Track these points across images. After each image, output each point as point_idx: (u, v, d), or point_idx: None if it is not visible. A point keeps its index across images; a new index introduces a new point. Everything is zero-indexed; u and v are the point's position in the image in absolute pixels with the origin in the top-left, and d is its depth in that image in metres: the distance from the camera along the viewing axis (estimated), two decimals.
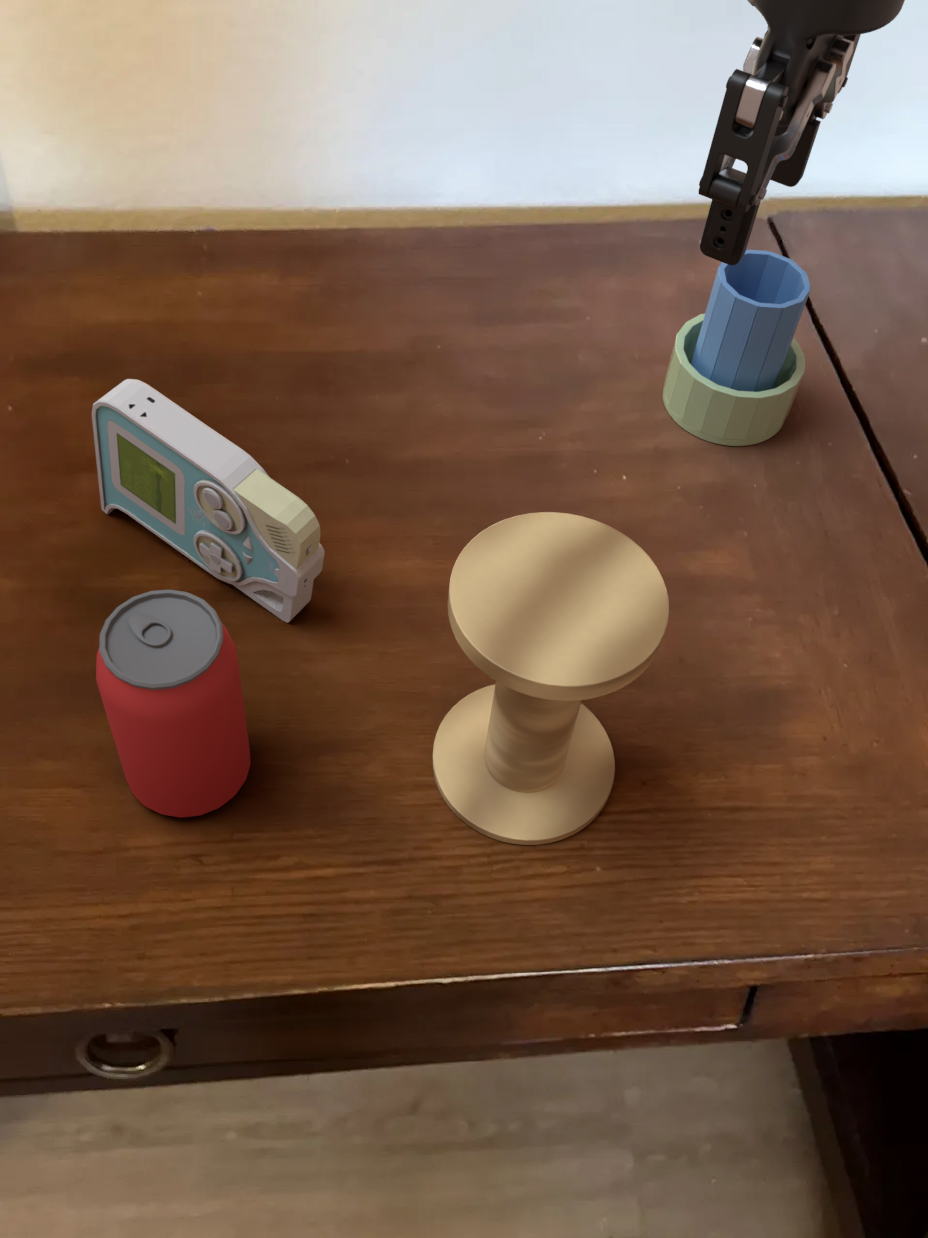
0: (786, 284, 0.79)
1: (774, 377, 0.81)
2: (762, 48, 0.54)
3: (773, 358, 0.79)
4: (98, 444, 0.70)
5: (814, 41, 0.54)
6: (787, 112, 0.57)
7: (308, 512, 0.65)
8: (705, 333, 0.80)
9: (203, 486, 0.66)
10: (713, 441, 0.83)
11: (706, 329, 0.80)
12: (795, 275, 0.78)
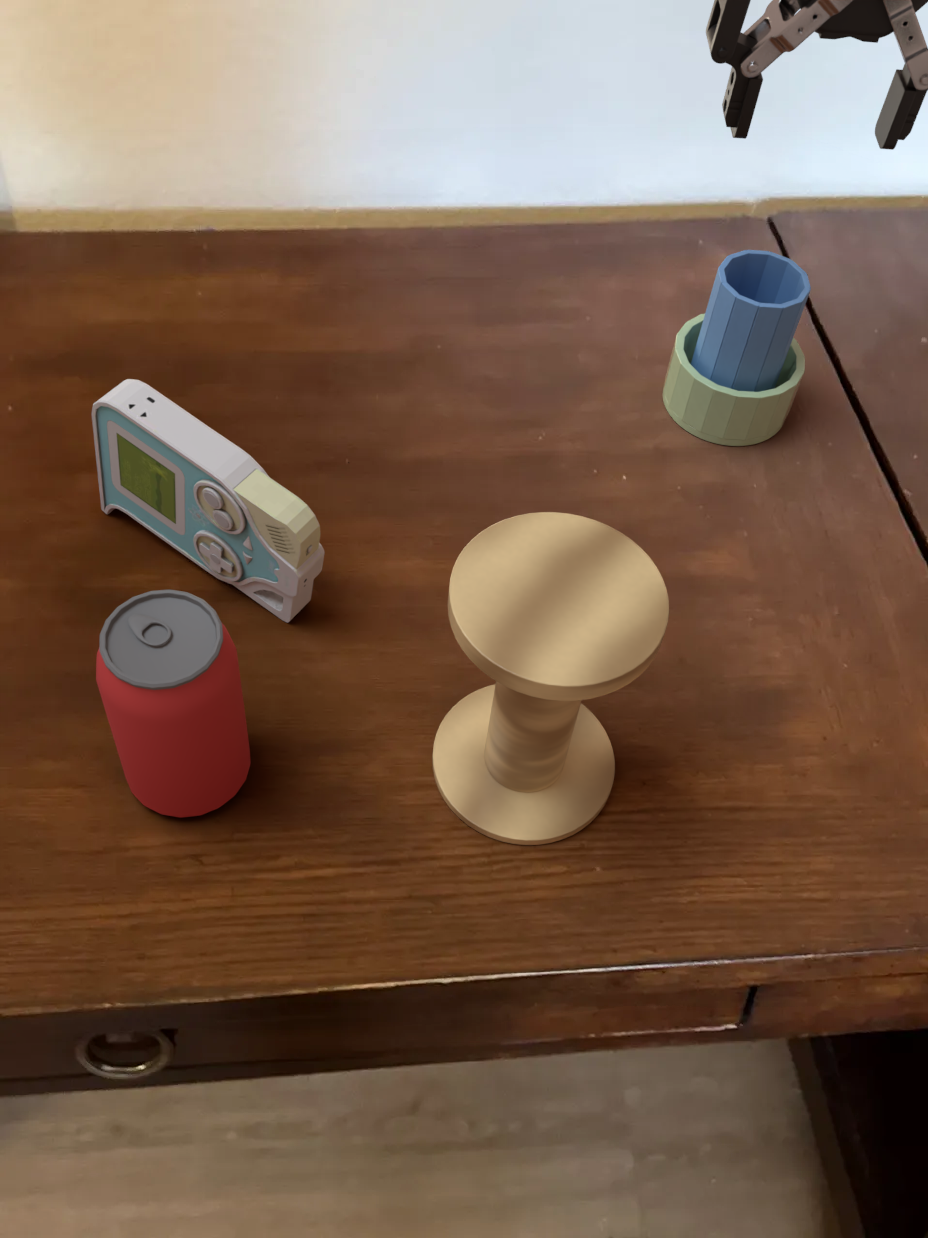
0: (786, 284, 0.79)
1: (774, 377, 0.81)
2: None
3: (773, 358, 0.79)
4: (98, 444, 0.70)
5: None
6: (802, 5, 0.63)
7: (308, 512, 0.65)
8: (705, 333, 0.80)
9: (203, 486, 0.66)
10: (713, 441, 0.83)
11: (706, 329, 0.80)
12: (795, 275, 0.78)
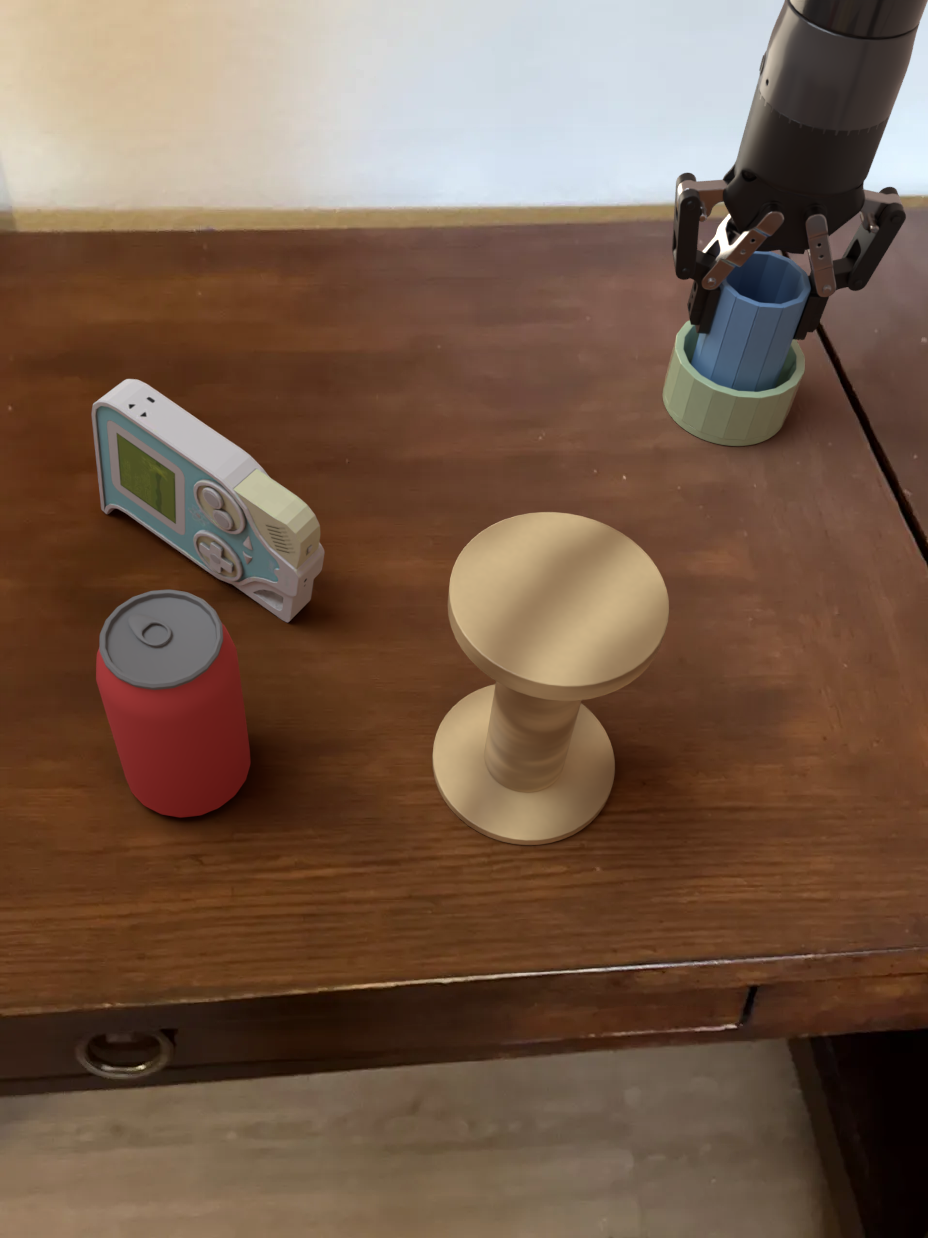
0: (786, 284, 0.79)
1: (774, 377, 0.81)
2: None
3: (773, 358, 0.79)
4: (98, 444, 0.70)
5: (755, 179, 0.70)
6: (737, 226, 0.73)
7: (308, 512, 0.65)
8: None
9: (203, 486, 0.66)
10: (713, 441, 0.83)
11: None
12: (795, 275, 0.78)
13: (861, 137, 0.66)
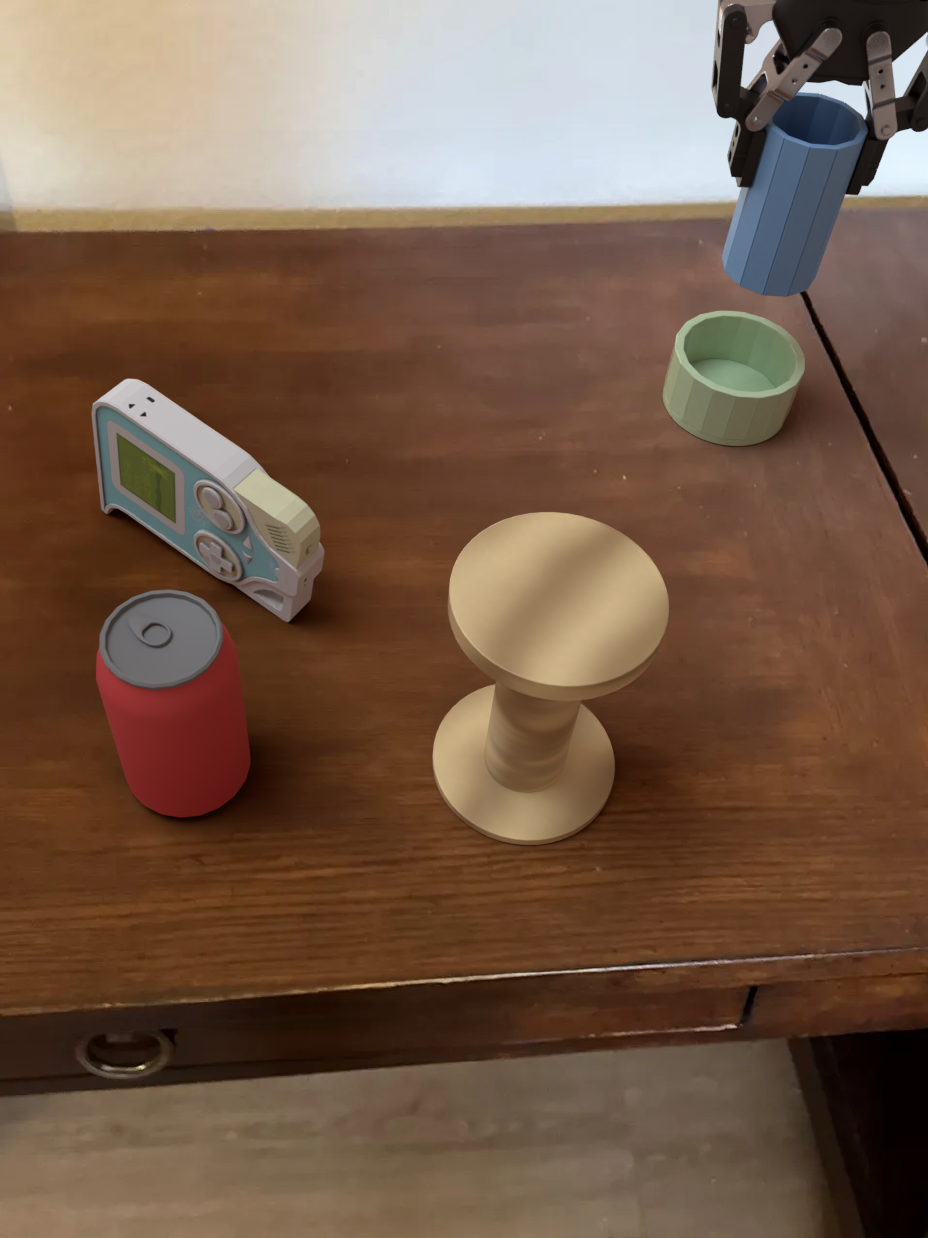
0: (838, 131, 0.71)
1: (824, 239, 0.72)
2: None
3: (823, 213, 0.70)
4: (98, 444, 0.70)
5: None
6: (788, 51, 0.65)
7: (308, 511, 0.65)
8: (747, 188, 0.71)
9: (203, 486, 0.66)
10: (713, 441, 0.83)
11: None
12: (849, 119, 0.70)
13: None
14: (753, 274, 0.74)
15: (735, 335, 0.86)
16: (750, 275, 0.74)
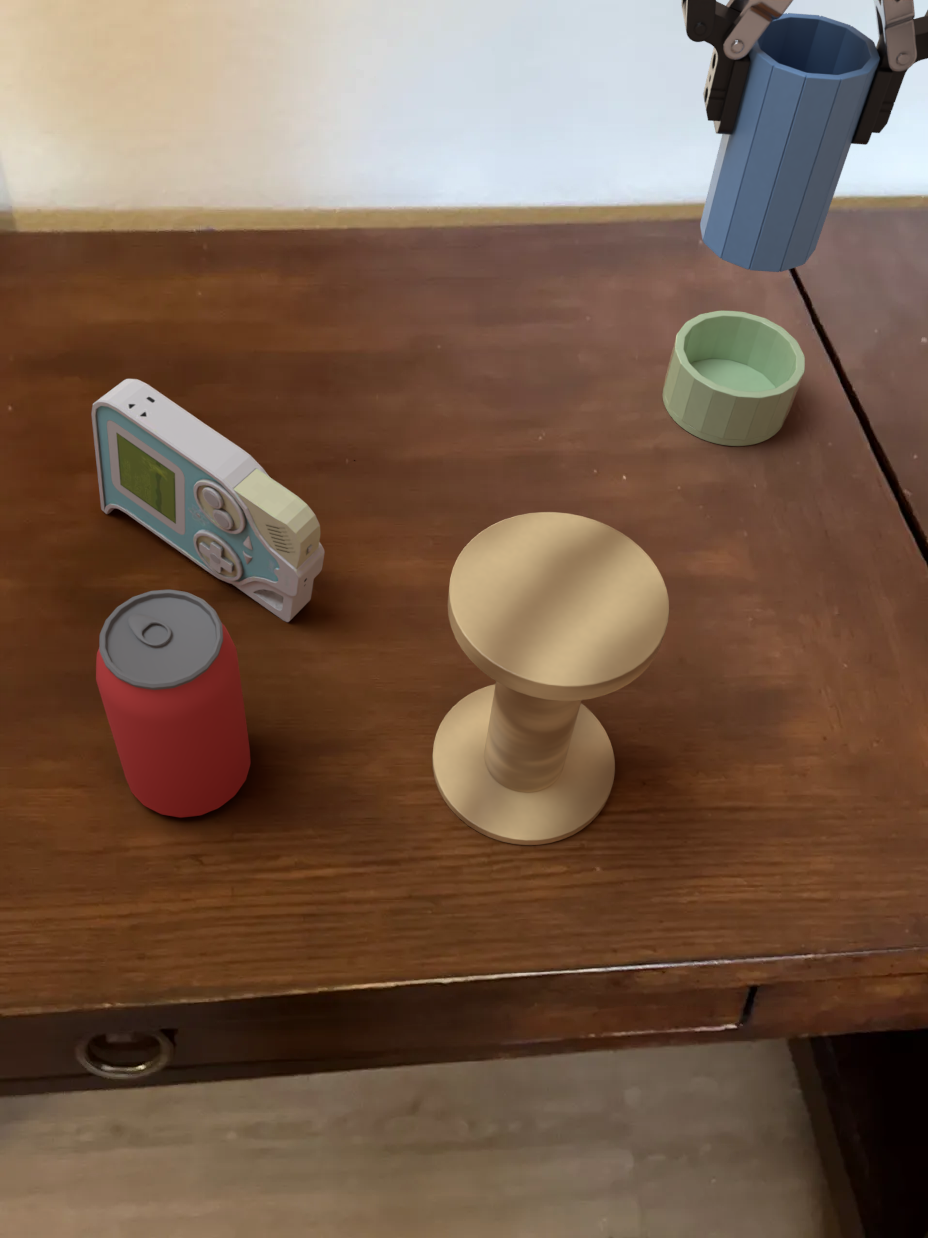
0: (843, 63, 0.56)
1: (825, 199, 0.58)
2: None
3: (824, 165, 0.56)
4: (98, 444, 0.70)
5: None
6: None
7: (308, 512, 0.65)
8: None
9: (203, 486, 0.66)
10: (713, 441, 0.83)
11: None
12: (857, 46, 0.55)
13: None
14: (737, 243, 0.60)
15: (735, 335, 0.86)
16: (733, 245, 0.60)
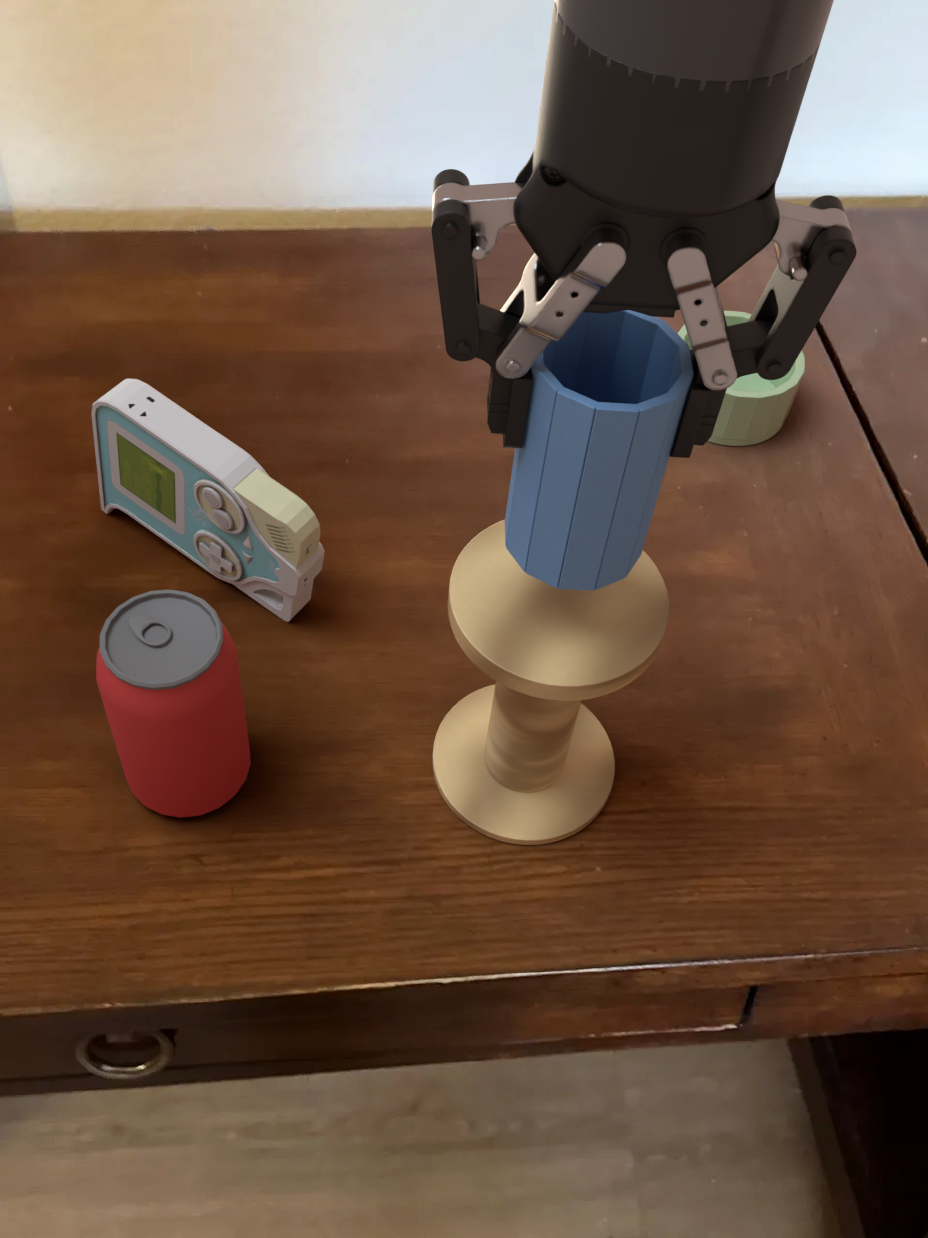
0: (657, 362, 0.46)
1: (641, 518, 0.47)
2: None
3: (633, 490, 0.46)
4: (98, 444, 0.70)
5: (565, 182, 0.37)
6: (547, 269, 0.40)
7: (308, 511, 0.65)
8: None
9: (203, 485, 0.66)
10: (713, 441, 0.83)
11: None
12: (670, 348, 0.45)
13: (755, 96, 0.32)
14: (540, 561, 0.49)
15: None
16: (536, 562, 0.49)
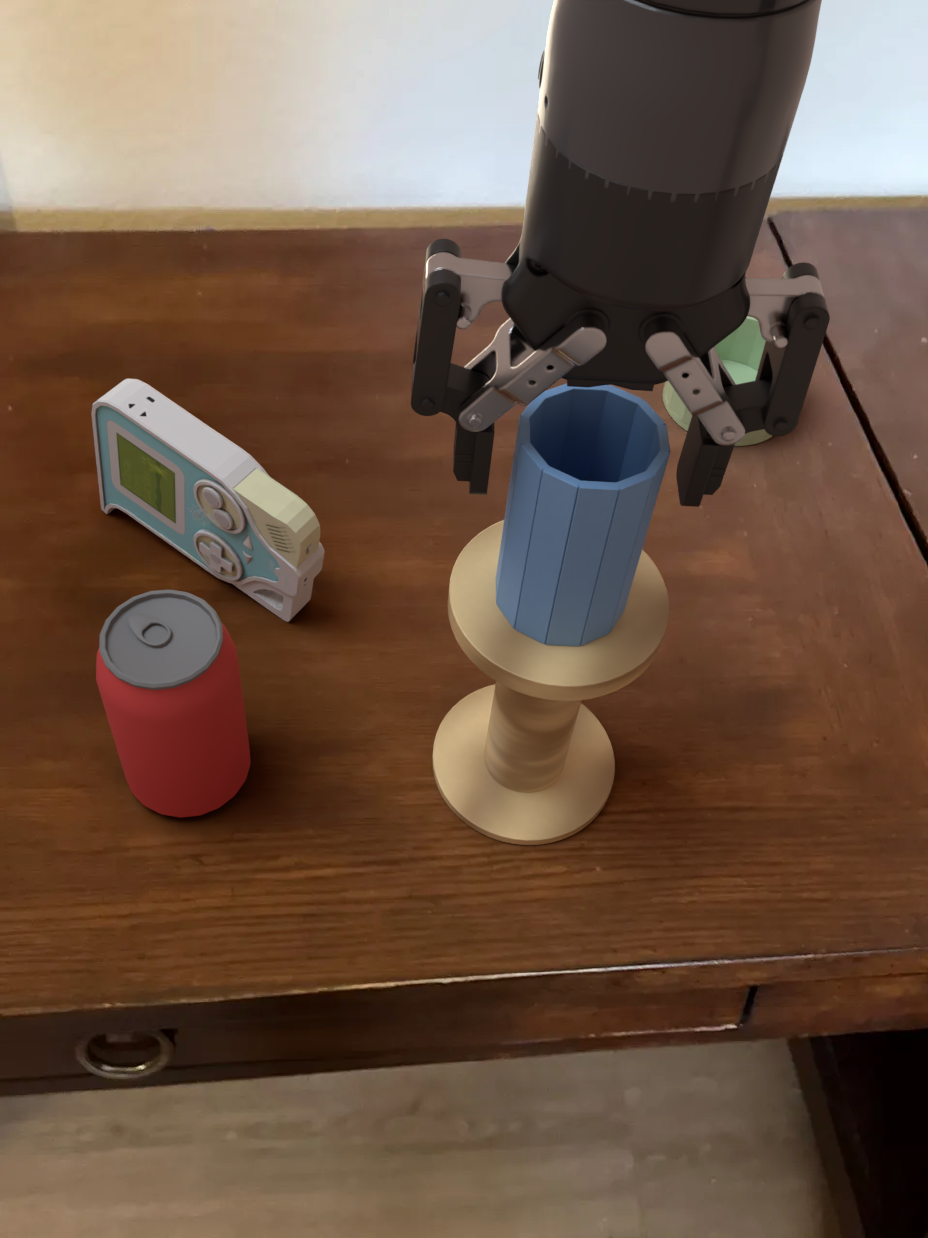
0: (637, 437, 0.49)
1: (623, 581, 0.51)
2: None
3: (615, 558, 0.49)
4: (98, 444, 0.70)
5: (549, 272, 0.40)
6: (533, 348, 0.42)
7: (308, 511, 0.65)
8: (509, 514, 0.50)
9: (203, 485, 0.66)
10: None
11: (509, 509, 0.49)
12: (649, 426, 0.48)
13: (723, 205, 0.35)
14: (529, 620, 0.52)
15: (735, 335, 0.86)
16: (525, 620, 0.52)
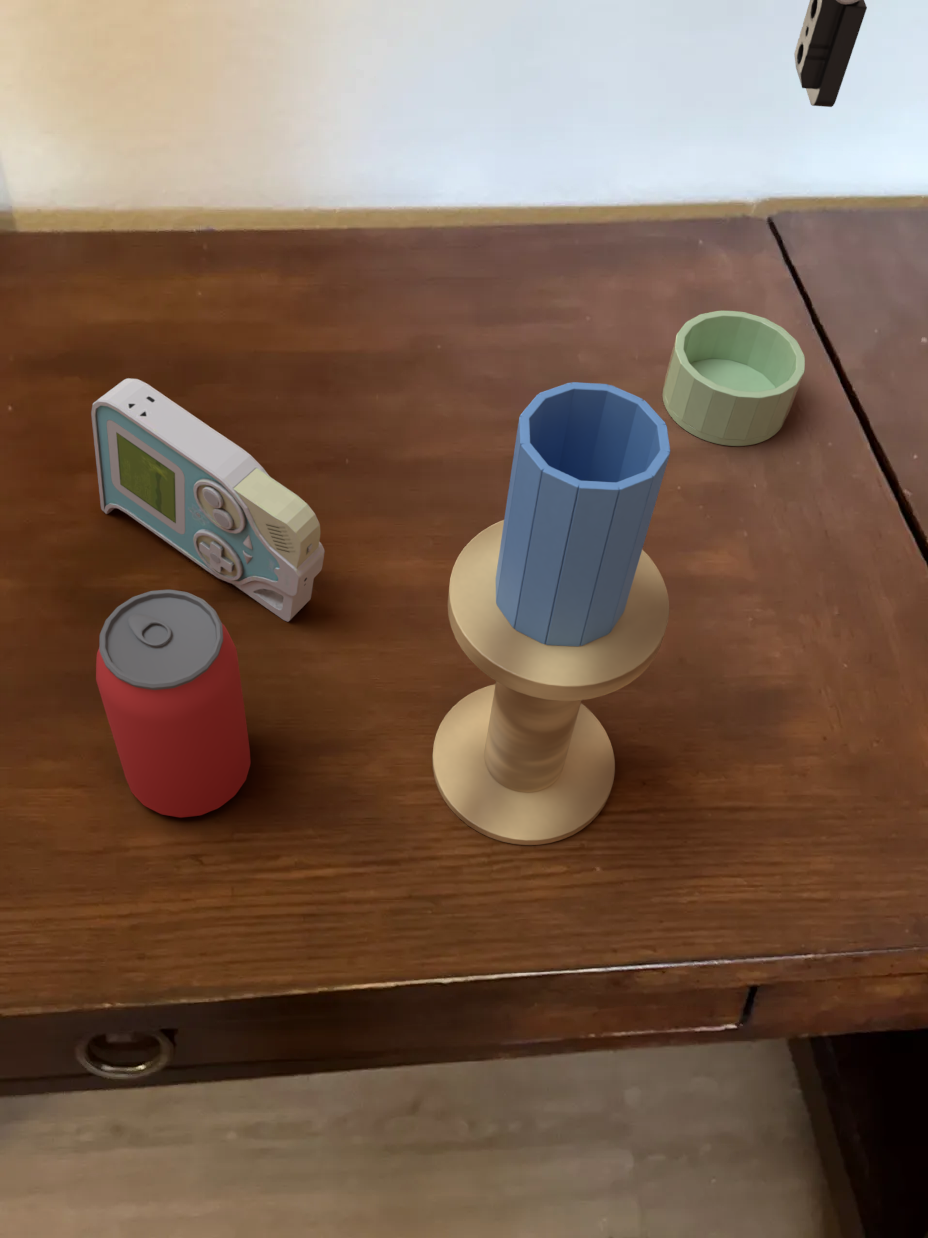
0: (637, 437, 0.49)
1: (623, 581, 0.51)
2: None
3: (615, 558, 0.49)
4: (98, 444, 0.70)
5: None
6: None
7: (308, 511, 0.65)
8: (509, 514, 0.50)
9: (203, 485, 0.66)
10: (713, 441, 0.83)
11: (509, 509, 0.49)
12: (649, 426, 0.48)
13: None
14: (529, 620, 0.52)
15: (735, 335, 0.86)
16: (525, 620, 0.52)
